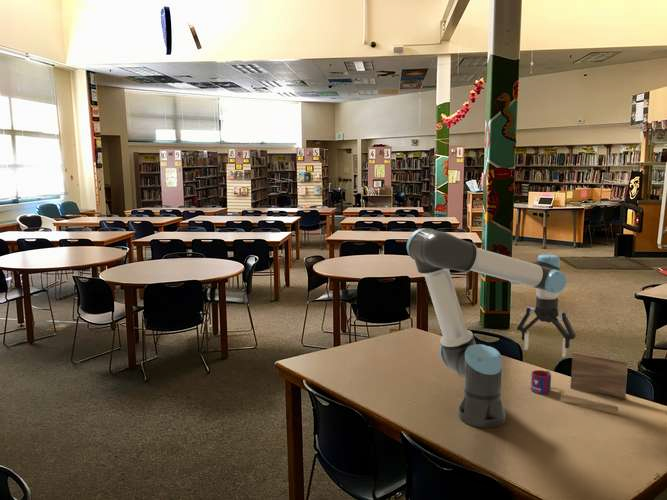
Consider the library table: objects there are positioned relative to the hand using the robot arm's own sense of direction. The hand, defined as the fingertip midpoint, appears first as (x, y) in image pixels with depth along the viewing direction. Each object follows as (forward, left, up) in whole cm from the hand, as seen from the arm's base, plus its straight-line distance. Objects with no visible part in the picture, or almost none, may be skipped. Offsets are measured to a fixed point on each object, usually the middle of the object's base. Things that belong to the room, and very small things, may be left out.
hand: (544, 352), depth 194 cm
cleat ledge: (-6, -17, -14) cm, 23 cm away
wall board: (+8, -17, -14) cm, 24 cm away
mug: (0, 0, -15) cm, 15 cm away
